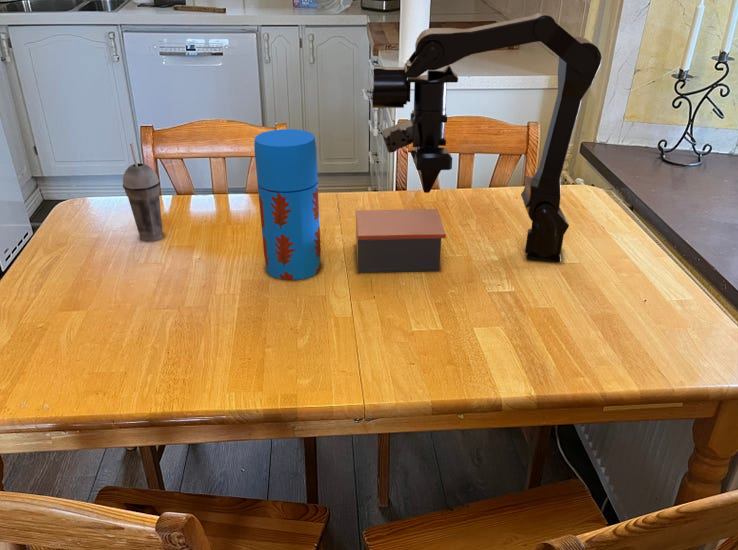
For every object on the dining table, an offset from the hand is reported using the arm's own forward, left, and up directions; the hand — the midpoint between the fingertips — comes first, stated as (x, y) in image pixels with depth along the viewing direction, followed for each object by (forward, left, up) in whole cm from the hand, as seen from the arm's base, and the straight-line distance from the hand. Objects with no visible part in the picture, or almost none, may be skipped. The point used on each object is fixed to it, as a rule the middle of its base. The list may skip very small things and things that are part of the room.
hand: (426, 192), depth 131 cm
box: (+5, +3, -13) cm, 14 cm away
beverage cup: (+57, +5, -13) cm, 59 cm away
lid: (+5, +3, -6) cm, 8 cm away
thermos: (+23, +12, -13) cm, 30 cm away
